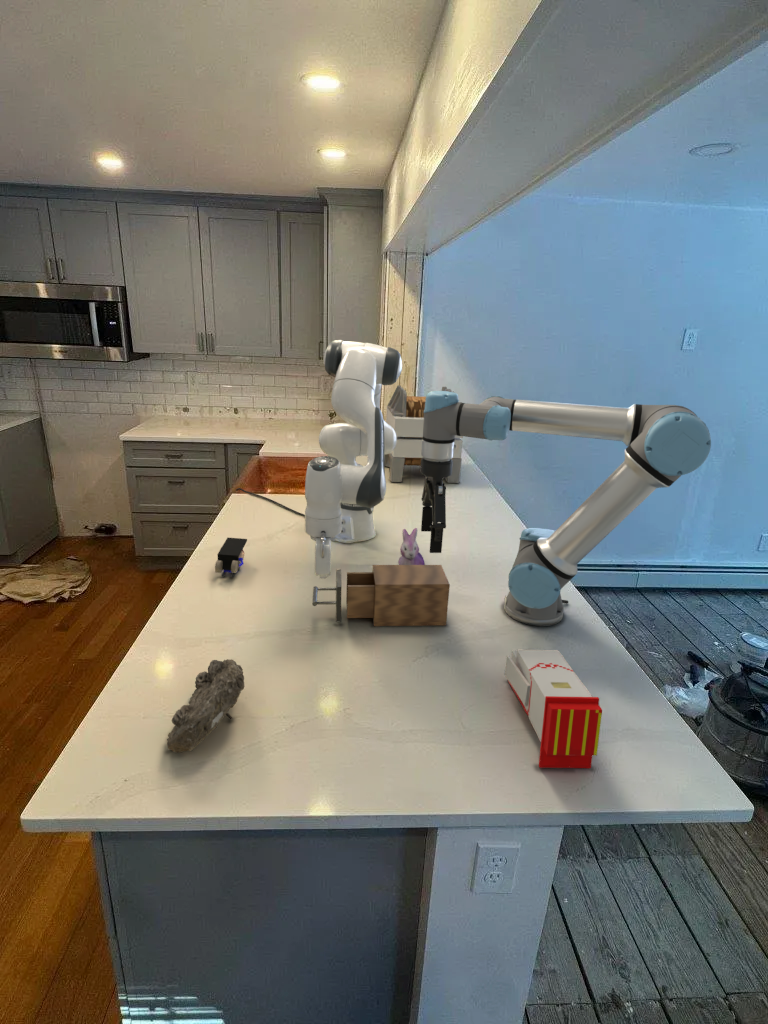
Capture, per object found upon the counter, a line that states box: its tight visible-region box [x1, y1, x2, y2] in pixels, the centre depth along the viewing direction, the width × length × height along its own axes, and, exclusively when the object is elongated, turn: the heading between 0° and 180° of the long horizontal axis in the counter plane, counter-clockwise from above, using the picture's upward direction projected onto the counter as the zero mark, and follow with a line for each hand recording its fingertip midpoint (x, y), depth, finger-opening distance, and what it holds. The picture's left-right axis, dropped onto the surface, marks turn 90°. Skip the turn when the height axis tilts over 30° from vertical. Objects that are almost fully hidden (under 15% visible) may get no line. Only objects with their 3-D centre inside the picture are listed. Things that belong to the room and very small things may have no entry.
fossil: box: [166, 658, 245, 754], centre depth 106 cm, size 22×10×15 cm
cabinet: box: [371, 564, 451, 627], centre depth 146 cm, size 18×11×12 cm, turn 95°
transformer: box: [384, 384, 464, 484], centre depth 268 cm, size 34×33×41 cm
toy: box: [504, 648, 603, 769], centre depth 111 cm, size 12×13×30 cm
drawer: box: [311, 569, 375, 623], centre depth 144 cm, size 23×10×10 cm, turn 95°
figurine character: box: [214, 537, 248, 578], centre depth 166 cm, size 7×8×15 cm
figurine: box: [398, 527, 426, 565], centre depth 166 cm, size 9×10×15 cm
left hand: (323, 576), depth 142 cm, fingers closed
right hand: (430, 541), depth 141 cm, fingers open, 13 cm apart
